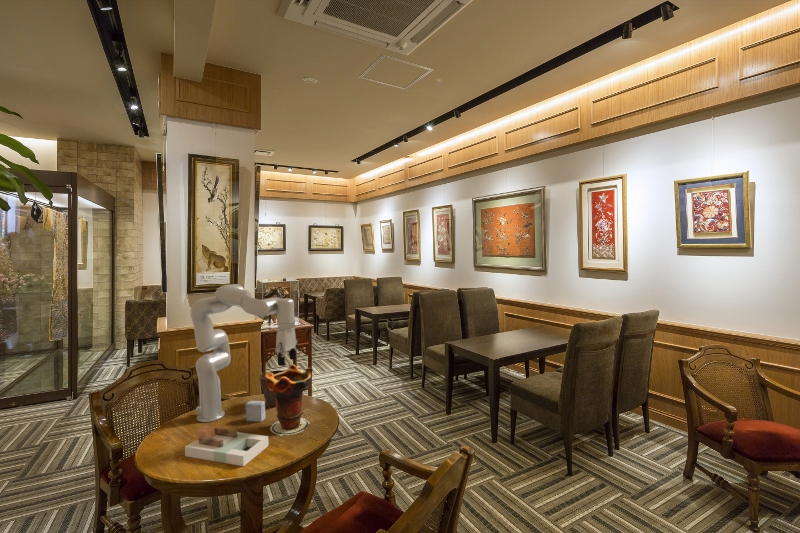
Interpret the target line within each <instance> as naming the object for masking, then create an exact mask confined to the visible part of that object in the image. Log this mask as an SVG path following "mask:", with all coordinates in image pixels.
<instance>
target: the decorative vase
mask: <svg viewBox="0 0 800 533" xmlns="http://www.w3.org/2000/svg"><path fill="white" fill-rule="evenodd" d="M283 371H284V372H281V373H277V374H273V373H271V372H269V371H267V372H268V373H266V374H265V378H266V379H267V386H268V388H269V390H270V391H271V392H272V393H274V394H275V399H276V406H275V408H276V412H277V414H276V418H277V421H276V422H274V423H273V424H271V425H272V426H270V428H269V430H270V431H271V433H273V434H274V435H278V436H280V437H281V436H290V435H296V434H298V433H302V432H303V431H305V428H307V427H308V425H309V424H310V421H308V420H307V418H306V416H304V418H303V417H302V415H305V413H304V411H302V406H303V405H302V404H303V395H304V394H303V392H304V391H305V390H307V389H308V387H309V385H310V383H311V379H312V372H313V368H311V367H307V368H305V370H304V371H303V370H300V369H299V368H298V367H297V366H296V365H295V364H290V365H289V366H288V368H287V369H286V370H283ZM300 424H302V425H301V426H300ZM298 427H299V428H298ZM295 428H298V429H296V430H294V429H295Z"/></svg>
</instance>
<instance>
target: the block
mask: <svg viewBox="0 0 800 533" xmlns="http://www.w3.org/2000/svg"><path fill="white" fill-rule="evenodd" d="M215 428H216V427H215V426H211V425H203V426H202V427H200V428H199V429H196V430H195V437H196V439H195V440H198V441H199V438H200V437H207V438H213V437H214V436H215Z"/></svg>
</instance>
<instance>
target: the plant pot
mask: <svg viewBox="0 0 800 533" xmlns="http://www.w3.org/2000/svg"><path fill="white" fill-rule="evenodd" d="M284 371H285V370H280V369H279V370H269V371H266V372H263V373H261V374H260V375H259V383H260V386H261V387H260V388H261V391H262V393H263V396H264V399H265V403H266V405H267V406H268V407H275V408H276V399H275V394H274V393H272V392H271V391H270V390H269V388H268V386H267V379H266V378H265V374H266V373H268V372H271V373H273V374H277V373H281V372H284Z"/></svg>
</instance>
